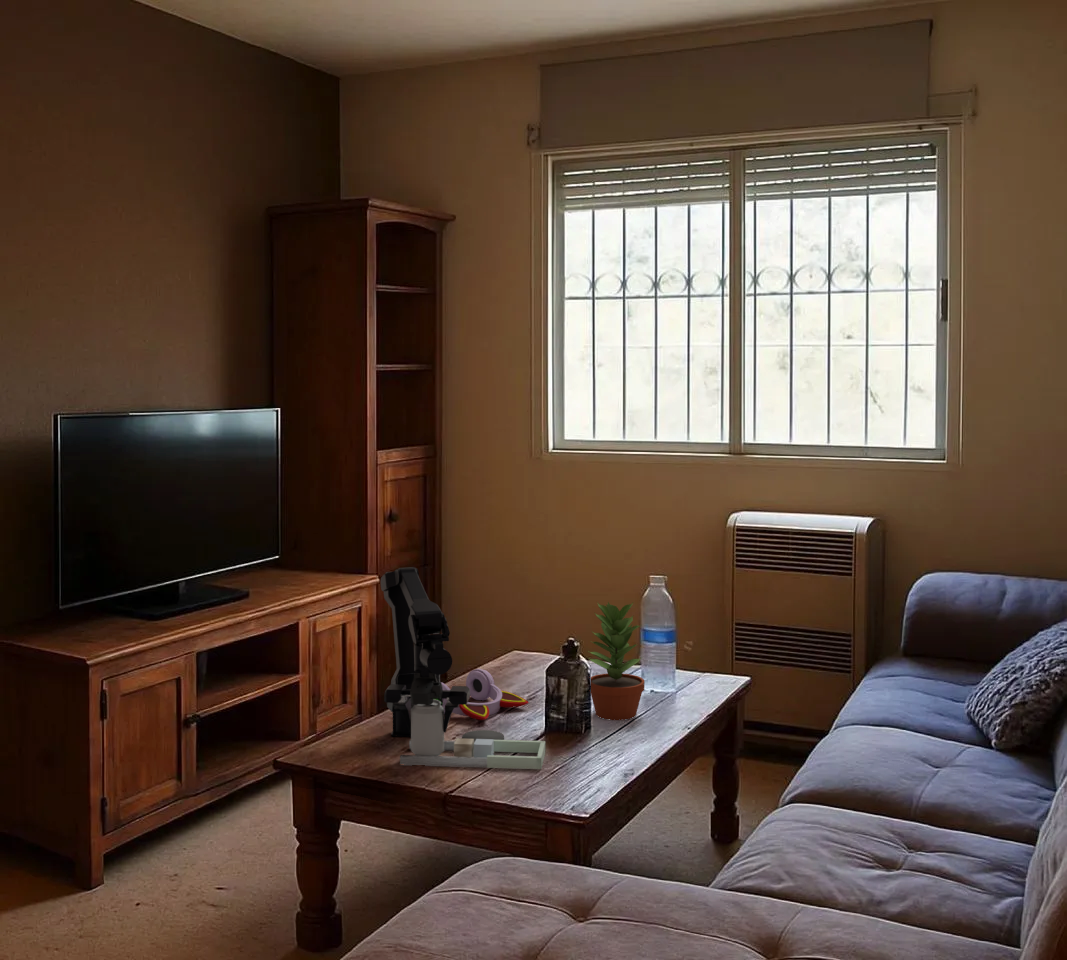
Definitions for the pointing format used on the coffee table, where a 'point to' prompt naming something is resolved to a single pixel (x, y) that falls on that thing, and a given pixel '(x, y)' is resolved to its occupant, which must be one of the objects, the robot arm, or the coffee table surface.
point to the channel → (444, 759)
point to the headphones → (484, 696)
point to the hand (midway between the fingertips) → (427, 731)
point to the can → (427, 729)
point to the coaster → (483, 735)
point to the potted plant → (615, 668)
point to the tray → (517, 761)
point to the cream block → (464, 747)
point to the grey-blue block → (483, 747)
